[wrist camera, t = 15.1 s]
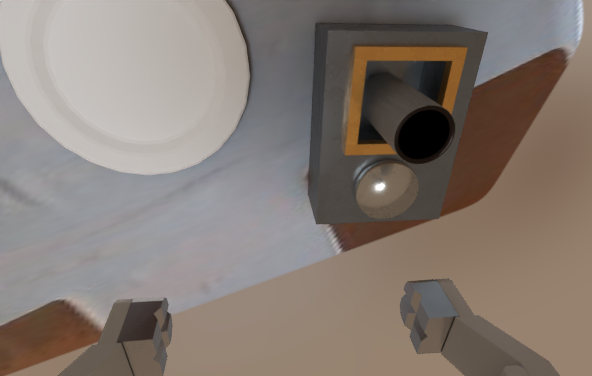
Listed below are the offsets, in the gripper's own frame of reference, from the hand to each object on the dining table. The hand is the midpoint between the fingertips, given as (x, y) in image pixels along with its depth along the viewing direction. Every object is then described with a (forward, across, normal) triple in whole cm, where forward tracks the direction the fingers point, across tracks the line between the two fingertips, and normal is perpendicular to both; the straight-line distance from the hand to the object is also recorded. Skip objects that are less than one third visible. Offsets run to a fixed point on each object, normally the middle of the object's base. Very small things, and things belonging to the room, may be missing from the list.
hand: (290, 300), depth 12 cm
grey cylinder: (+25, -11, +1) cm, 27 cm away
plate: (+27, +12, -2) cm, 30 cm away
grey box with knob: (+26, -11, +3) cm, 29 cm away
